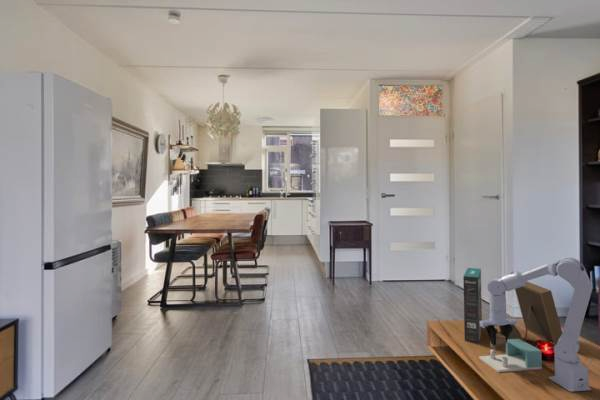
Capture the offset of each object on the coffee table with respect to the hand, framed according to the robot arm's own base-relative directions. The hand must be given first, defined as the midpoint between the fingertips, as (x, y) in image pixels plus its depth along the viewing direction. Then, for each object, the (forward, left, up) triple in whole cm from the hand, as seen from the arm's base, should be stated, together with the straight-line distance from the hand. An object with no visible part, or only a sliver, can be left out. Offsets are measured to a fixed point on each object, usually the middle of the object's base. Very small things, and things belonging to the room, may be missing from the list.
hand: (498, 343), depth 142 cm
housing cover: (0, -11, -8) cm, 13 cm away
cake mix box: (+31, -9, -8) cm, 33 cm away
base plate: (0, -5, -8) cm, 9 cm away
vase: (+16, -18, -8) cm, 26 cm away
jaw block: (0, 0, -2) cm, 2 cm away
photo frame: (+22, -33, -8) cm, 41 cm away
